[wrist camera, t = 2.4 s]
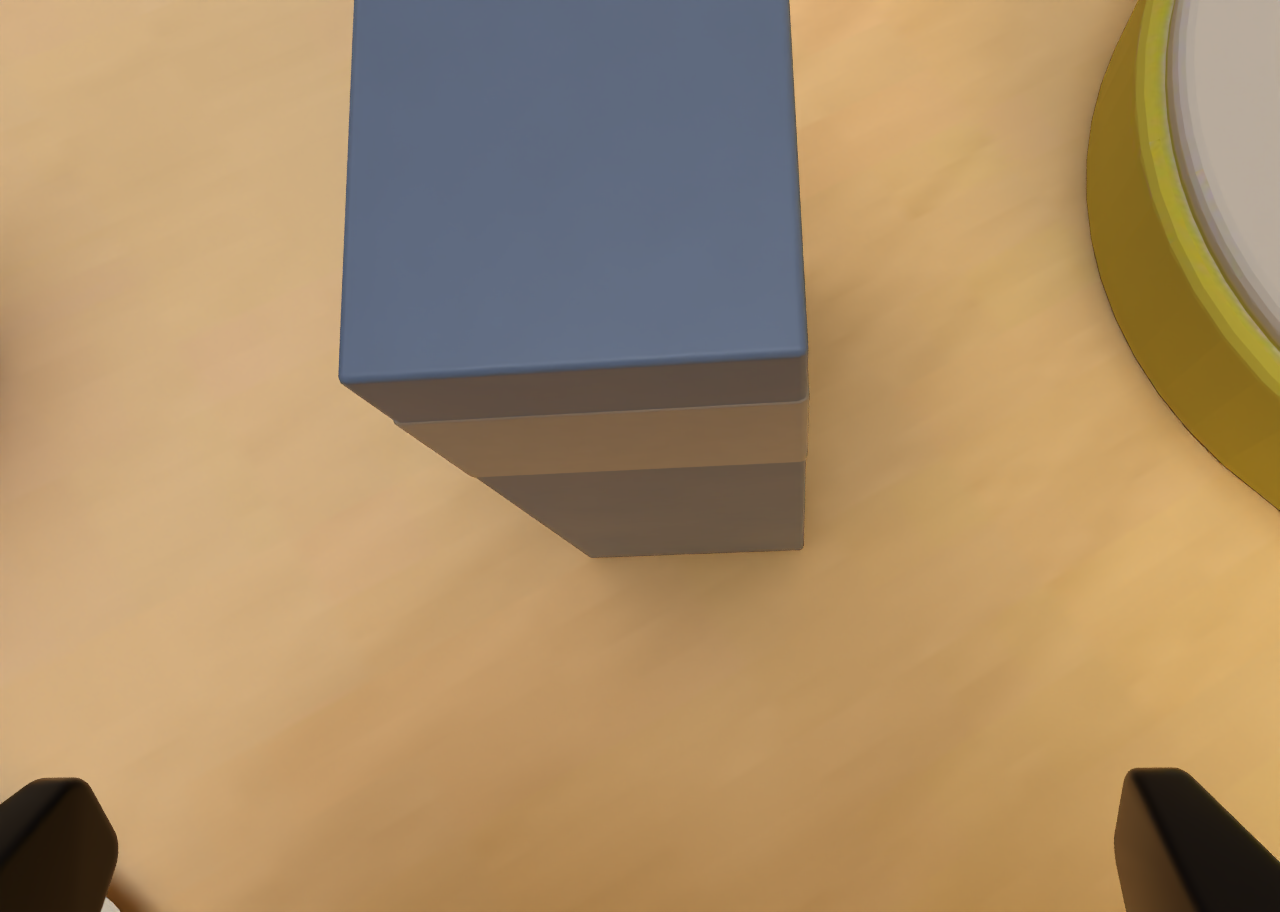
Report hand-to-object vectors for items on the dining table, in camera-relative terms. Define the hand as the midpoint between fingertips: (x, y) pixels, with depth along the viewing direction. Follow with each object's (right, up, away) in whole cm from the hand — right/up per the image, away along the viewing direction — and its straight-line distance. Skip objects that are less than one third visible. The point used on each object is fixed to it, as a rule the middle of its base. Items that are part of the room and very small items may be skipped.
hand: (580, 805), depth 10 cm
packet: (+2, +4, +14) cm, 14 cm away
